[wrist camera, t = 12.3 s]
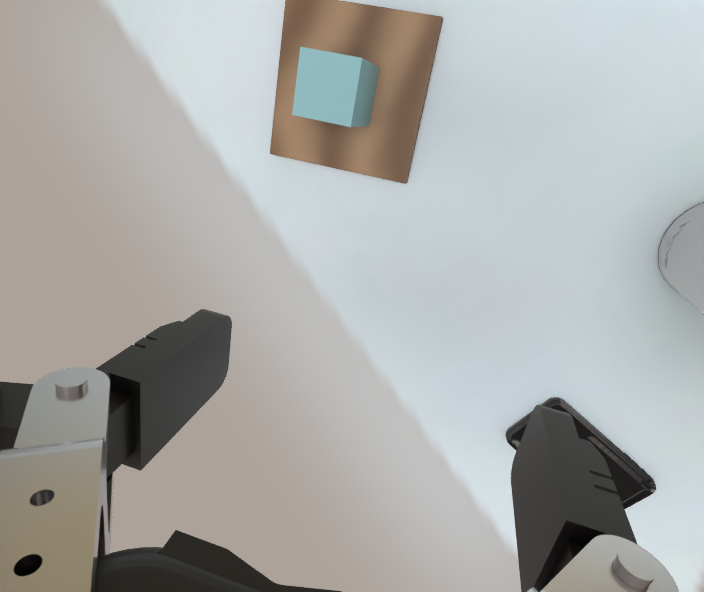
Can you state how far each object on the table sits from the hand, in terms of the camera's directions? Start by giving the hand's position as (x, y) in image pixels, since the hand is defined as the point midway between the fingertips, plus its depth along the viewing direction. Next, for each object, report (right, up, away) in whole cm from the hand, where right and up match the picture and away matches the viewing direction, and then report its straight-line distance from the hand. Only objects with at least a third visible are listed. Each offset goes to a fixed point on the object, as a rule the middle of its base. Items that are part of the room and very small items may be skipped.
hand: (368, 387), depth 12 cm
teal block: (-1, +21, +31) cm, 37 cm away
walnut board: (-1, +22, +32) cm, 38 cm away
